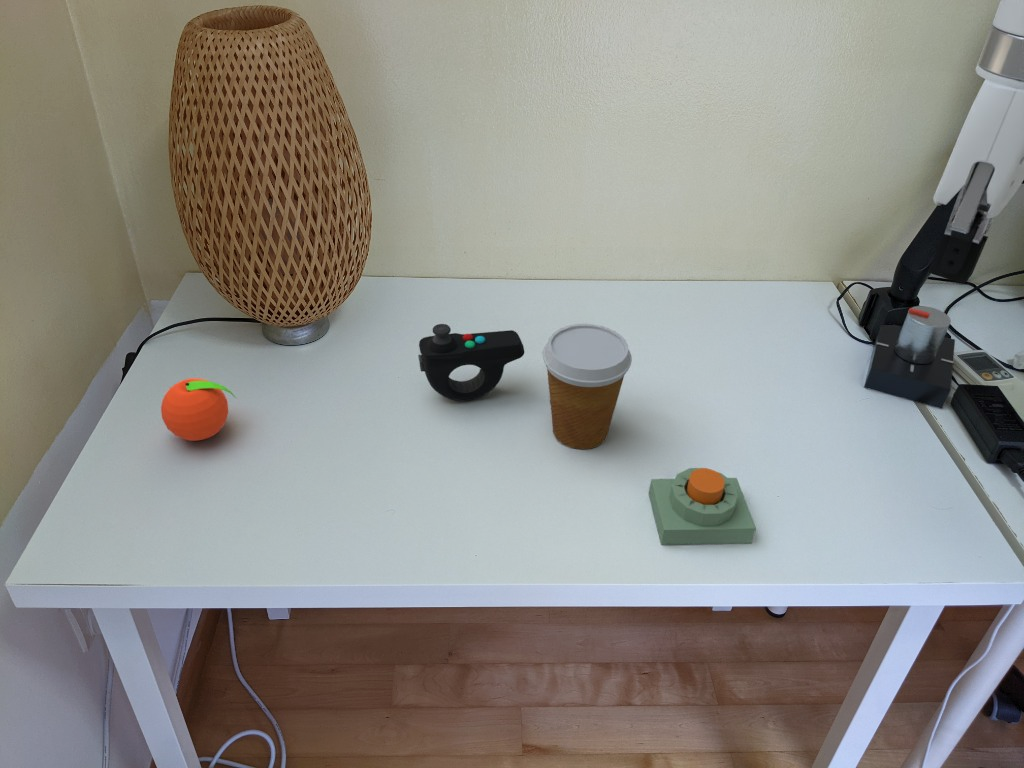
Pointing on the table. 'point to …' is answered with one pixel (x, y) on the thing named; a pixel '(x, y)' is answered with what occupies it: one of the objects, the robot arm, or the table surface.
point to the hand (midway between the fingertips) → (949, 274)
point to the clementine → (195, 409)
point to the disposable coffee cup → (584, 381)
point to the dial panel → (909, 371)
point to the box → (699, 513)
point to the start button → (705, 486)
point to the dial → (922, 334)
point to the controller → (467, 360)
